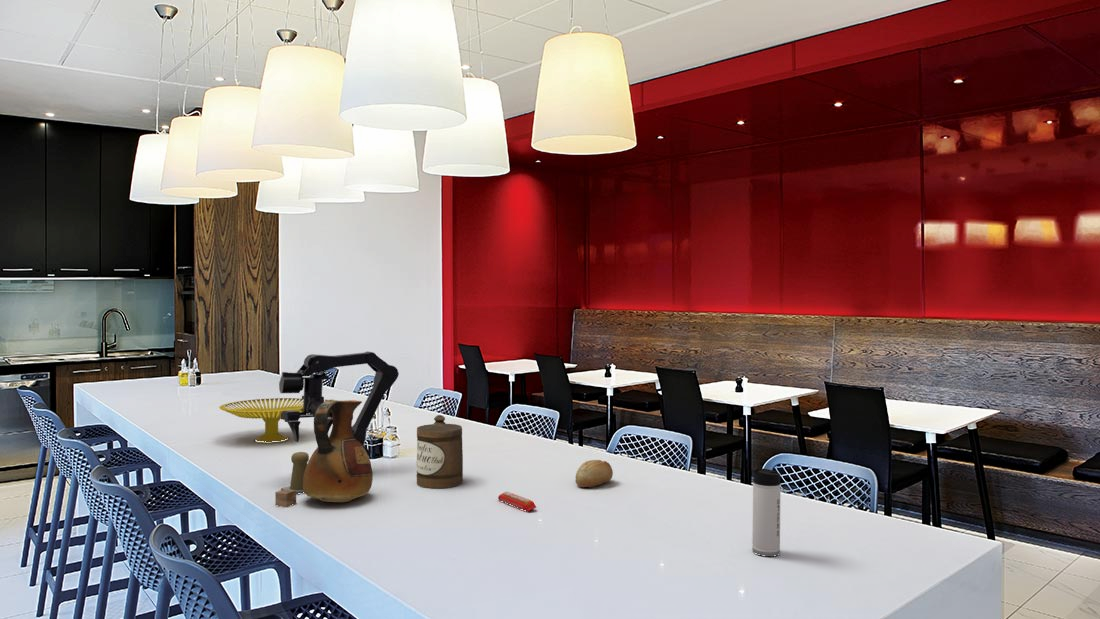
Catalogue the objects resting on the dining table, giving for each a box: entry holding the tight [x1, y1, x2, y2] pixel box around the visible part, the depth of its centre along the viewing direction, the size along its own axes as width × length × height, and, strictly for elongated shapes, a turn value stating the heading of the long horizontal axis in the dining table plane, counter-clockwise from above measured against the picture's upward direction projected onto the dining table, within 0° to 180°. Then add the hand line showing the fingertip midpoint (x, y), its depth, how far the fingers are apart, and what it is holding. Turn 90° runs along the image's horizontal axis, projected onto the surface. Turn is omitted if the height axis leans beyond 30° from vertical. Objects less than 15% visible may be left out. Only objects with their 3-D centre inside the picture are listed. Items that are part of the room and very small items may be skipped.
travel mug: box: [751, 467, 782, 556], centre depth 174 cm, size 6×7×20 cm
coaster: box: [280, 485, 304, 495], centre depth 227 cm, size 8×8×1 cm
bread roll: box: [575, 459, 614, 488], centre depth 236 cm, size 10×15×8 cm, turn 138°
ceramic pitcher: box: [303, 398, 374, 503], centre depth 217 cm, size 20×20×30 cm
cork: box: [289, 451, 310, 490], centre depth 227 cm, size 6×6×11 cm
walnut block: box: [274, 489, 297, 508], centre depth 211 cm, size 4×4×4 cm
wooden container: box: [416, 414, 464, 489], centre depth 237 cm, size 15×15×22 cm
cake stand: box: [218, 397, 304, 442], centre depth 306 cm, size 40×40×15 cm
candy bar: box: [497, 491, 537, 512], centre depth 212 cm, size 16×4×3 cm, turn 38°
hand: (310, 440), depth 239 cm, fingers open, 9 cm apart
